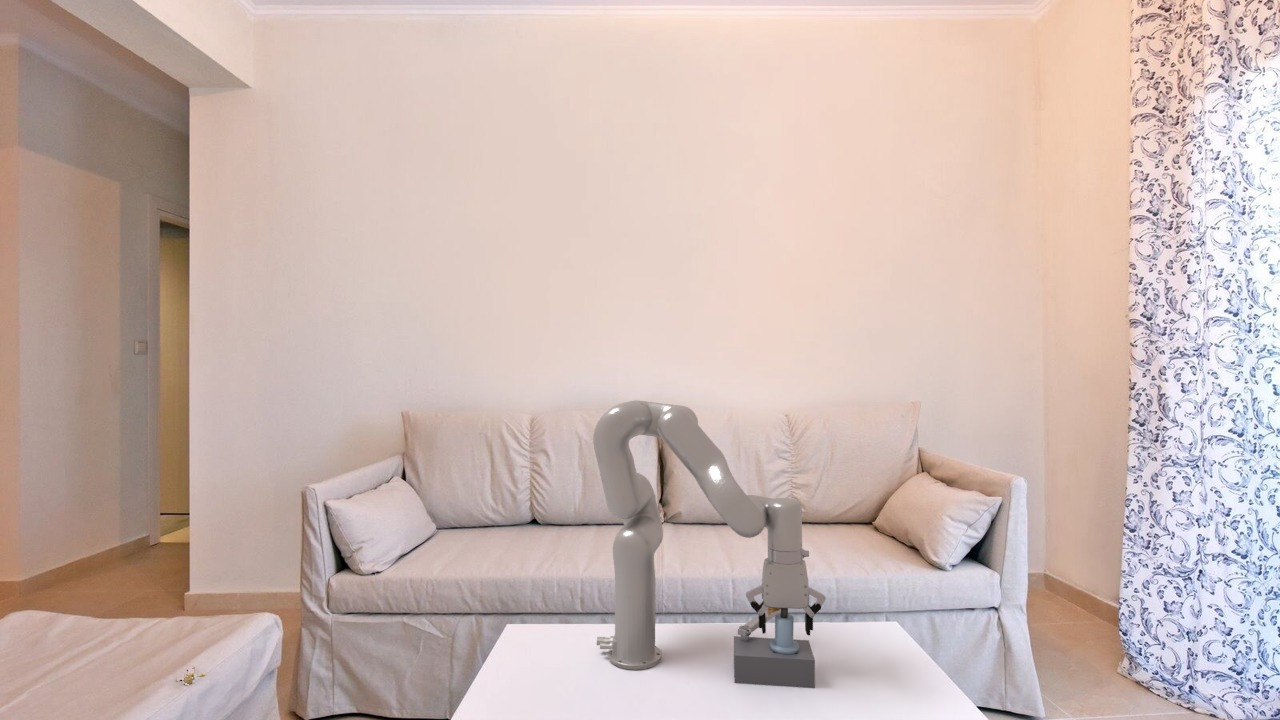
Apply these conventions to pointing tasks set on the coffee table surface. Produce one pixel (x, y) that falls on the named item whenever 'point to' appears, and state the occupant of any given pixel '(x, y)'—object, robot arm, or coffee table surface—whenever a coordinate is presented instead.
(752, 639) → the socket block
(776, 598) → the robot arm
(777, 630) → the plug
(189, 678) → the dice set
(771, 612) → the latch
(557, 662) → the coffee table surface
